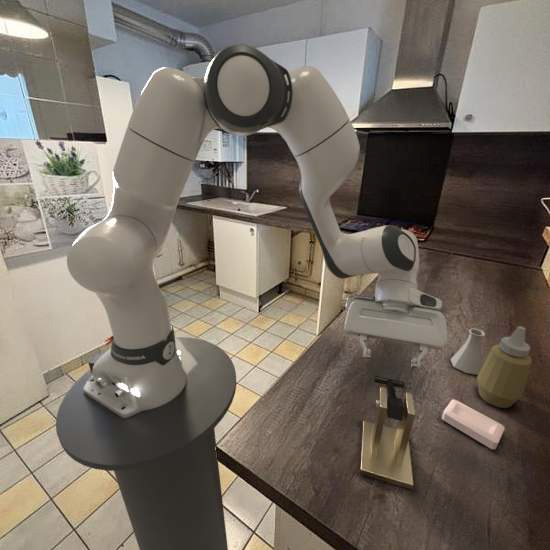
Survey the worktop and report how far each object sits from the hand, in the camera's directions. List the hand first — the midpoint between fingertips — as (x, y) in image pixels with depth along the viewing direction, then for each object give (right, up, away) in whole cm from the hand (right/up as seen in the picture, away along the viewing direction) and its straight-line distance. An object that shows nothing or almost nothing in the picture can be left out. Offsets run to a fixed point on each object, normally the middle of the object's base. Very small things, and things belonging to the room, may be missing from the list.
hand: (390, 362), depth 60 cm
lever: (-3, -5, -7) cm, 9 cm away
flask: (+24, -5, +13) cm, 28 cm away
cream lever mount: (-4, -14, -8) cm, 16 cm away
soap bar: (+14, -12, -3) cm, 19 cm away
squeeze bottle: (+24, -9, +4) cm, 26 cm away
